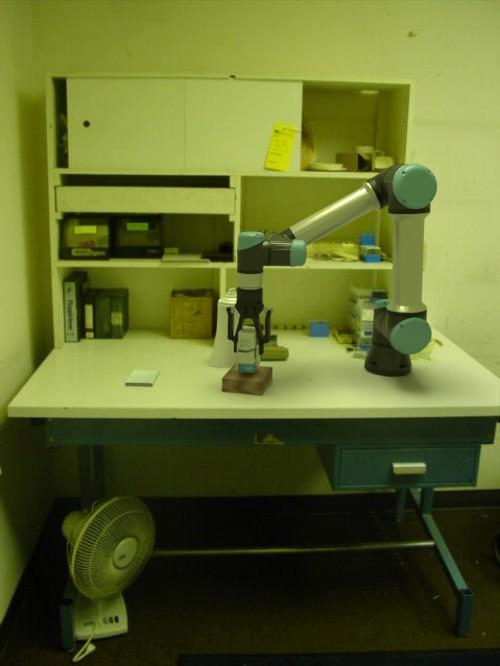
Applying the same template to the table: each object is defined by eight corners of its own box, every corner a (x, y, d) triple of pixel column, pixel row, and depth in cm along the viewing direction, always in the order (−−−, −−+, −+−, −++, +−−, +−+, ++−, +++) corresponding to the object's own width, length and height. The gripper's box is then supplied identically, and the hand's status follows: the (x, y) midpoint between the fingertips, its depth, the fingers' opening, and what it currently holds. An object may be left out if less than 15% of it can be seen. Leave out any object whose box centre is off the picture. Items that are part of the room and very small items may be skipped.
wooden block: (272, 379, 189) (272, 367, 188) (262, 395, 176) (262, 382, 175) (234, 375, 192) (234, 363, 190) (221, 391, 178) (222, 378, 177)
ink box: (253, 373, 178) (254, 334, 174) (237, 371, 179) (237, 332, 175) (259, 364, 186) (260, 326, 183) (243, 362, 187) (243, 325, 183)
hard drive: (152, 383, 181) (160, 369, 193) (124, 382, 181) (134, 368, 193) (152, 388, 181) (160, 374, 193) (125, 387, 181) (134, 373, 193)
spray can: (217, 355, 211) (217, 283, 204) (247, 358, 208) (248, 286, 201) (205, 365, 200) (205, 290, 193) (237, 369, 197) (238, 293, 191)
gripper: (283, 286, 177) (280, 363, 183) (223, 282, 181) (222, 357, 187) (278, 291, 170) (275, 370, 176) (215, 287, 174) (215, 365, 180)
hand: (248, 363), depth 182 cm, fingers closed on ink box, 5 cm apart
